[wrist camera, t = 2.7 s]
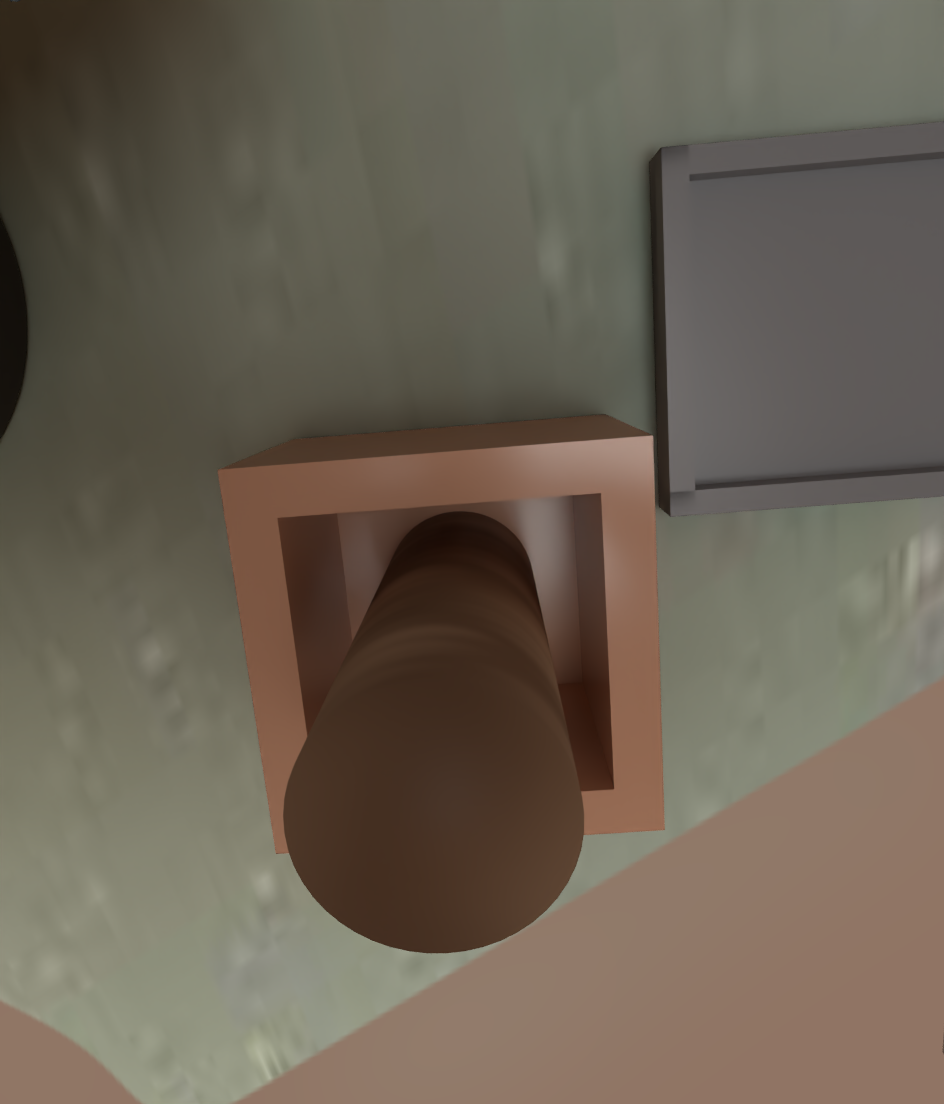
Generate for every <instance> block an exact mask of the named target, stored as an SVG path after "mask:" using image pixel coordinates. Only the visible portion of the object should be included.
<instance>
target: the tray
mask: <svg viewBox="0 0 944 1104" xmlns="http://www.w3.org/2000/svg"><path fill="white" fill-rule="evenodd" d="M649 168H650V203H651V238H652V274H653V309H654V344H655V380H656V415H657V450H658V485H659V507H660V508H661V509H662V510H663V511H664V512H666V513H667V514H668V515H669V516H670V517H674V516H687V515H700V514H714V513H727V512H740V511H754V510H767V509H780V508H794V507H807V506H820V505H834V504H847V503H860V502H873V501H887V500H900V499H913V498H927V497H940V496H944V122H934V123H923V124H912V125H901V126H890V127H879V128H868V129H857V130H846V131H835V132H824V133H813V134H802V135H791V136H781V137H770V138H759V139H748V140H737V141H726V142H715V143H704V144H693V145H682V146H671V147H661V148H660V150H659V151H658V152H657V153H656V155H655V156H654V157H653V158H652V159H651V161H650V162H649Z"/></svg>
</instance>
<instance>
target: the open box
mask: <svg viewBox="0 0 944 1104" xmlns="http://www.w3.org/2000/svg"><path fill="white" fill-rule="evenodd" d="M218 476H219V483H220V489H221V496H222V502H223V509H224V515H225V522H226V528H227V535H228V542H229V548H230V555H231V561H232V568H233V574H234V581H235V588H236V594H237V601H238V607H239V614H240V620H241V627H242V633H243V640H244V647H245V653H246V660H247V666H248V673H249V679H250V686H251V693H252V699H253V706H254V712H255V719H256V725H257V732H258V738H259V745H260V752H261V758H262V765H263V771H264V778H265V784H266V791H267V798H268V804H269V811H270V817H271V824H272V830H273V837H274V844H275V850H276V854H281V853H289V851H288V847H287V843H286V838H285V834H284V822H283V809H284V797H285V792H286V788H287V783H288V780H289V777H290V774H291V772H292V769H293V766H294V764H295V762H296V760H297V757H298V755H299V753H300V751H301V749H302V747H303V745H304V743H305V741H306V738H307V736H308V734H309V732H310V730H311V728H312V726H313V724H314V722H315V720H316V717H317V715H318V713H319V711H320V709H321V707H322V705H323V703H324V701H325V698H326V696H327V694H328V692H329V690H330V688H331V686H332V684H333V682H334V679H335V677H336V675H337V673H338V671H339V669H340V667H341V665H342V663H343V661H344V658H345V656H346V654H347V652H348V650H349V648H350V646H351V644H352V642H353V639H354V637H355V635H356V633H357V631H358V629H359V627H360V625H361V623H362V620H363V618H364V616H365V614H366V612H367V610H368V608H369V606H370V604H371V601H372V599H373V597H374V595H375V593H376V591H377V589H378V587H379V585H380V583H381V580H382V578H383V576H384V574H385V572H386V570H387V568H388V566H389V564H390V561H391V559H392V557H393V555H394V553H395V551H396V549H397V547H398V546H399V544H400V542H401V541H402V540H403V538H404V537H405V536H406V535H407V534H408V533H409V532H410V531H411V530H412V529H413V528H414V527H416V526H417V525H418V524H419V523H421V522H423V521H425V520H426V519H428V518H431V517H433V516H435V515H439V514H442V513H446V512H453V511H467V512H475V513H479V514H483V515H485V516H488V517H491V518H493V519H495V520H496V521H498V522H500V523H502V524H503V525H504V526H506V527H507V528H508V529H509V530H510V531H511V532H513V533H514V534H515V535H516V537H517V538H518V539H519V540H520V542H521V543H522V545H523V547H524V548H525V550H526V552H527V554H528V557H529V559H530V563H531V566H532V570H533V575H534V580H535V584H536V589H537V593H538V598H539V602H540V607H541V612H542V616H543V621H544V625H545V630H546V634H547V639H548V644H549V648H550V653H551V657H552V662H553V666H554V671H555V675H556V680H557V685H558V689H559V694H560V698H561V703H562V707H563V712H564V717H565V721H566V726H567V730H568V735H569V739H570V744H571V749H572V753H573V758H574V762H575V767H576V771H577V776H578V781H579V785H580V790H581V794H582V800H583V808H584V835H591V834H607V833H624V832H640V831H656V830H665V827H664V793H663V759H662V725H661V691H660V657H659V623H658V589H657V555H656V521H655V487H654V453H653V435H651V434H649V433H646V432H644V431H642V430H640V429H637V428H635V427H633V426H631V425H628V424H626V423H624V422H622V421H620V420H617V419H615V418H613V417H611V416H608V415H606V414H602V415H590V416H577V417H565V418H552V419H540V420H527V421H515V422H502V423H490V424H477V425H464V426H452V427H439V428H427V429H414V430H402V431H389V432H377V433H364V434H352V435H339V436H327V437H314V438H302V439H293V440H290V441H288V442H285V443H283V444H280V445H278V446H275V447H273V448H270V449H268V450H265V451H263V452H260V453H258V454H255V455H253V456H250V457H248V458H245V459H243V460H240V461H238V462H236V463H233V464H231V465H228V466H226V467H223V468H221V469H218Z"/></svg>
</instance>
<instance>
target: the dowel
mask: <svg viewBox="0 0 944 1104" xmlns="http://www.w3.org/2000/svg"><path fill="white" fill-rule="evenodd" d="M283 822H284V834H285V838H286V843H287V847H288V851H289V854H290V857H291V859H292V862H293V865H294V867H295V869H296V871H297V873H298V875H299V876H300V878H301V880H302V882H303V884H304V885H305V886H306V888H307V889H308V890H309V892H310V893H311V895H312V896H313V897H314V898H315V899H316V901H317V902H318V903H319V904H320V905H321V906H322V907H323V908H324V909H325V910H326V911H327V912H328V913H329V914H331V915H332V916H333V917H334V918H336V919H337V920H338V921H339V922H340V923H342V924H344V925H345V926H347V927H348V928H350V929H351V930H353V931H354V932H356V933H358V934H360V935H362V936H364V937H366V938H368V939H370V940H372V941H375V942H378V943H381V944H384V945H387V946H389V947H393V948H398V949H402V950H406V951H413V952H422V953H452V952H461V951H467V950H472V949H476V948H480V947H484V946H487V945H490V944H493V943H495V942H498V941H501V940H503V939H505V938H507V937H509V936H511V935H513V934H515V933H517V932H519V931H520V930H522V929H523V928H525V927H526V926H528V925H529V924H531V923H532V922H533V921H535V920H536V919H537V918H538V917H539V916H540V915H541V914H543V913H544V912H545V911H546V910H547V909H548V908H549V907H550V906H551V904H552V903H553V902H554V901H555V900H556V899H557V898H558V896H559V895H560V893H561V892H562V890H563V889H564V888H565V886H566V885H567V883H568V881H569V879H570V877H571V875H572V873H573V871H574V869H575V867H576V864H577V861H578V858H579V855H580V851H581V847H582V841H583V835H584V808H583V800H582V794H581V790H580V785H579V781H578V776H577V771H576V767H575V762H574V758H573V753H572V749H571V744H570V739H569V735H568V730H567V726H566V721H565V717H564V712H563V707H562V703H561V698H560V694H559V689H558V685H557V680H556V675H555V671H554V666H553V662H552V657H551V653H550V648H549V644H548V639H547V634H546V630H545V625H544V621H543V616H542V612H541V607H540V602H539V598H538V593H537V589H536V584H535V580H534V575H533V570H532V566H531V563H530V559H529V557H528V554H527V552H526V550H525V548H524V547H523V545H522V543H521V542H520V540H519V539H518V538H517V537H516V535H515V534H514V533H513V532H511V531H510V530H509V529H508V528H507V527H506V526H504V525H503V524H502V523H500V522H498V521H496V520H495V519H493V518H491V517H488V516H485V515H483V514H479V513H475V512H467V511H453V512H446V513H442V514H439V515H435V516H433V517H431V518H428V519H426V520H425V521H423V522H421V523H419V524H418V525H417V526H416V527H414V528H413V529H412V530H411V531H410V532H409V533H408V534H407V535H406V536H405V537H404V538H403V540H402V541H401V542H400V544H399V546H398V547H397V549H396V551H395V553H394V555H393V557H392V559H391V561H390V564H389V566H388V568H387V570H386V572H385V574H384V576H383V578H382V580H381V583H380V585H379V587H378V589H377V591H376V593H375V595H374V597H373V599H372V601H371V604H370V606H369V608H368V610H367V612H366V614H365V616H364V618H363V620H362V623H361V625H360V627H359V629H358V631H357V633H356V635H355V637H354V639H353V642H352V644H351V646H350V648H349V650H348V652H347V654H346V656H345V658H344V661H343V663H342V665H341V667H340V669H339V671H338V673H337V675H336V677H335V679H334V682H333V684H332V686H331V688H330V690H329V692H328V694H327V696H326V698H325V701H324V703H323V705H322V707H321V709H320V711H319V713H318V715H317V717H316V720H315V722H314V724H313V726H312V728H311V730H310V732H309V734H308V736H307V738H306V741H305V743H304V745H303V747H302V749H301V751H300V753H299V755H298V757H297V760H296V762H295V764H294V766H293V769H292V772H291V774H290V777H289V780H288V783H287V788H286V792H285V797H284V809H283Z"/></svg>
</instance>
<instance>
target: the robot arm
mask: <svg viewBox="0 0 944 1104" xmlns="http://www.w3.org/2000/svg"><path fill="white" fill-rule="evenodd" d="M10 1H11V2H12V1H15V2H18V1H20V0H10ZM26 345H27V319H26V308H25V300H24V293H23V287H22V282H21V278H20V273H19V269H18V265H17V262H16V258H15V255H14V252H13V249H12V246H11V243H10V241H9V238H8V235H7V233H6V230H5V228H4V226H3V223H2V221H1V219H0V438H1V436H2V434H3V433H4V431H5V428H6V426H7V424H8V422H9V420H10V418H11V415H12V412H13V410H14V407H15V405H16V401H17V398H18V395H19V391H20V388H21V383H22V378H23V373H24V366H25V359H26ZM943 1038H944V1037H943ZM943 1054H944V1039H943Z"/></svg>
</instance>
